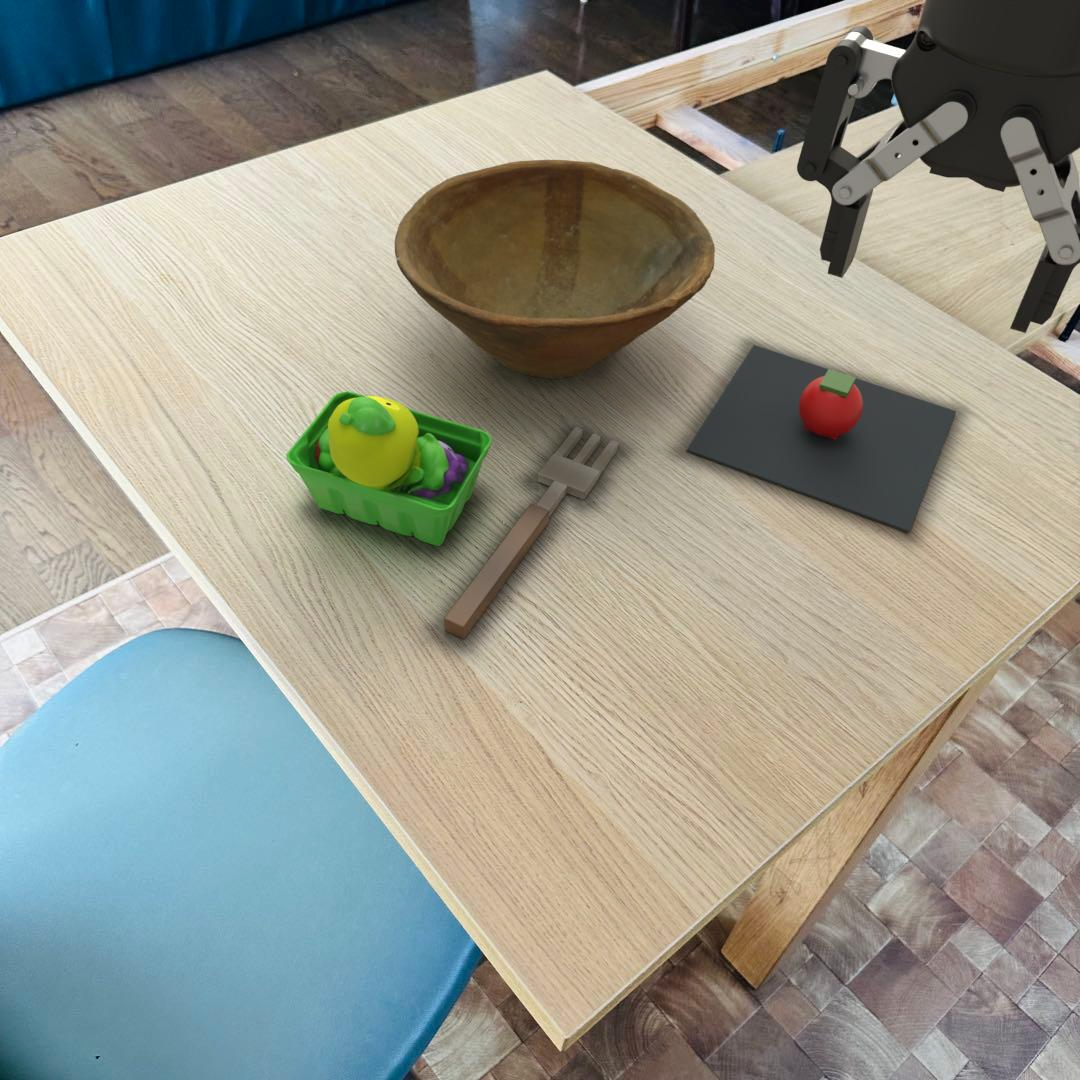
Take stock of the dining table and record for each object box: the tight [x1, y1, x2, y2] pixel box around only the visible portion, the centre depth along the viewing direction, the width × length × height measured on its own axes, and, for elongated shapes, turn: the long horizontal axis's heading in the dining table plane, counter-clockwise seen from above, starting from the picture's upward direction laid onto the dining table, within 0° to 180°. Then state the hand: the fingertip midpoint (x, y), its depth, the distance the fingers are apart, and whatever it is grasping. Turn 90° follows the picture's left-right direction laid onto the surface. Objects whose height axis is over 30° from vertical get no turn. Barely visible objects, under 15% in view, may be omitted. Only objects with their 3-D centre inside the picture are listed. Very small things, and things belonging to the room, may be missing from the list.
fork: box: [443, 426, 619, 640], centre depth 67 cm, size 20×4×1 cm, turn 152°
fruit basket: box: [285, 391, 493, 547], centre depth 64 cm, size 11×9×11 cm
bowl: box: [394, 159, 716, 379], centre depth 77 cm, size 22×23×10 cm
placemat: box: [686, 344, 957, 534], centre depth 75 cm, size 16×14×1 cm
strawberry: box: [799, 368, 863, 440], centre depth 73 cm, size 4×4×4 cm
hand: (928, 294), depth 48 cm, fingers open, 8 cm apart
